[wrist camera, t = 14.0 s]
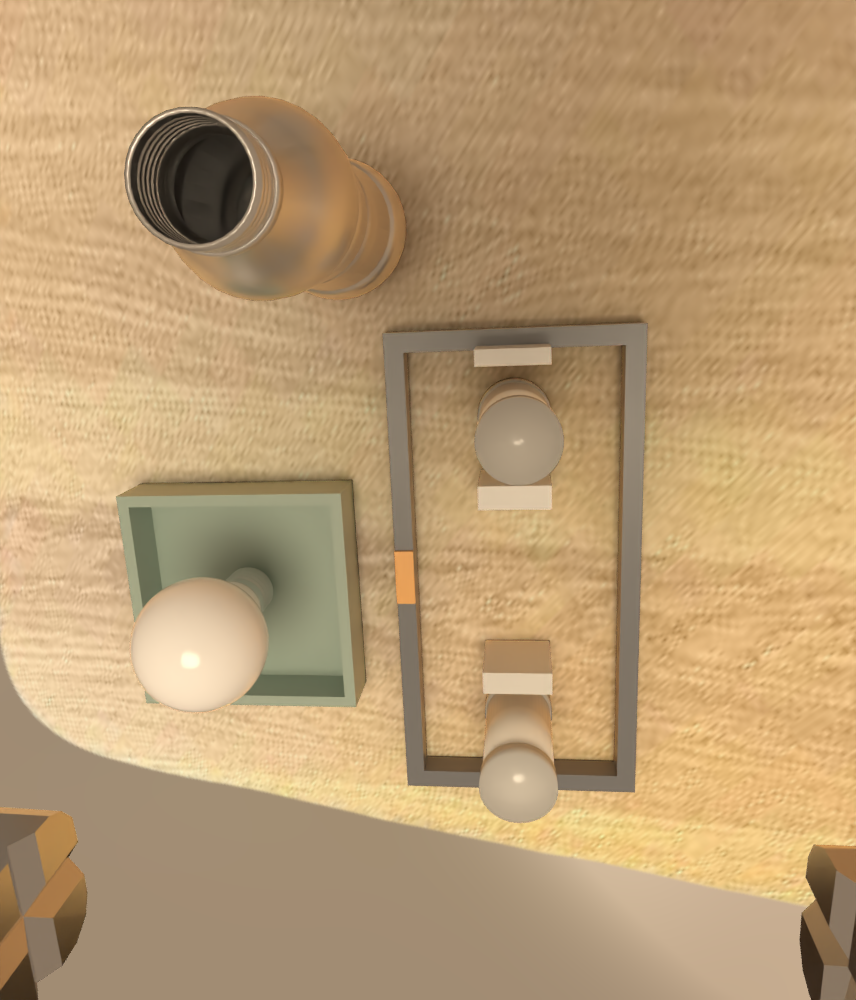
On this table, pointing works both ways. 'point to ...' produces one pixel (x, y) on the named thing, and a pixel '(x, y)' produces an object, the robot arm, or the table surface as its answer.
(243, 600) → the lightbulb
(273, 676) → the tray
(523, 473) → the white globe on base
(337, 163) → the plastic bottle
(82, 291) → the table surface
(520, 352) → the rail
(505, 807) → the cylinder
